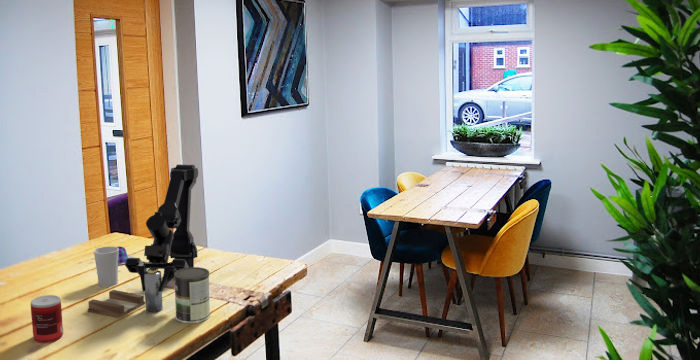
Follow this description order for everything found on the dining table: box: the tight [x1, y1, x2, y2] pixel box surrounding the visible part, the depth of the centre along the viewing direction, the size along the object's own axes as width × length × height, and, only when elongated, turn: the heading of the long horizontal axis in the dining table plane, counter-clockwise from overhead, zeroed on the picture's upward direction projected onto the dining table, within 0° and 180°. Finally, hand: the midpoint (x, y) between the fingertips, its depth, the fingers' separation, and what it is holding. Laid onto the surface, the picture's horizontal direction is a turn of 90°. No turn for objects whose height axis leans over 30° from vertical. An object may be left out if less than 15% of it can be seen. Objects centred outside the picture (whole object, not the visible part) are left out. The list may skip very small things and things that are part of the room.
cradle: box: [87, 289, 146, 318], centre depth 208 cm, size 12×12×3 cm
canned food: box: [30, 294, 64, 344], centre depth 185 cm, size 8×8×11 cm
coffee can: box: [173, 266, 211, 324], centre depth 201 cm, size 10×10×14 cm
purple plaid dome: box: [116, 246, 135, 266], centre depth 252 cm, size 12×12×5 cm
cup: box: [93, 246, 119, 288], centre depth 227 cm, size 8×8×12 cm
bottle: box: [144, 268, 164, 314], centre depth 206 cm, size 5×5×13 cm
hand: (151, 291), depth 204 cm, fingers closed on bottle, 5 cm apart
